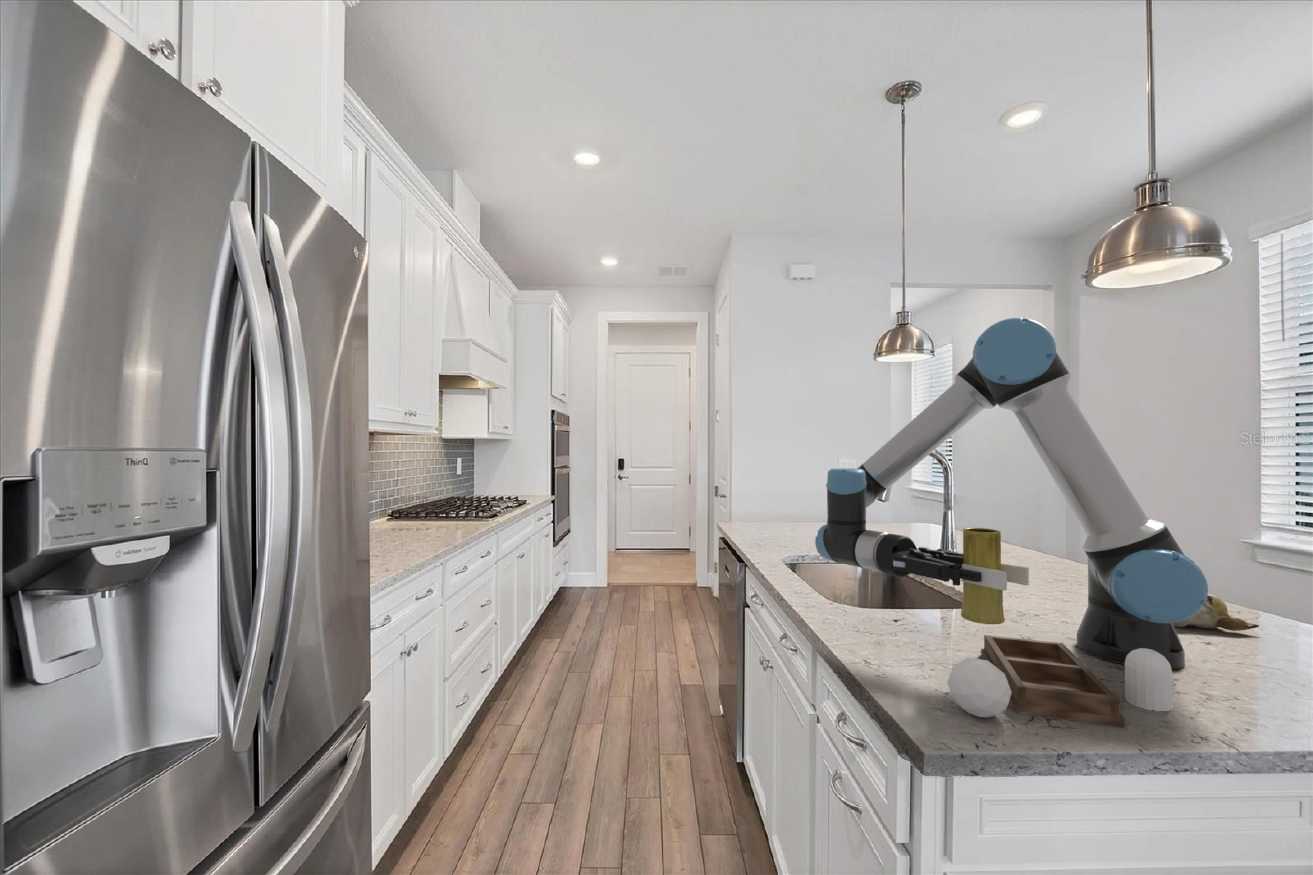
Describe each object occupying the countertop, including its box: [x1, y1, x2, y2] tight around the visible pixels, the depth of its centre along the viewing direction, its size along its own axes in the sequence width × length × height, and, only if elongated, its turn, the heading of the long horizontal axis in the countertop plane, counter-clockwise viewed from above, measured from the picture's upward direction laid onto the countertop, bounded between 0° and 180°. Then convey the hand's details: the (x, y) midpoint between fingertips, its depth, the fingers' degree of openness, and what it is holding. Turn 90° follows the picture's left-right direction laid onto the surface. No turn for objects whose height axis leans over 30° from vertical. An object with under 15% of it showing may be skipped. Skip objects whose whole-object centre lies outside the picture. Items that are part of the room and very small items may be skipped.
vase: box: [960, 527, 1006, 625], centre depth 90 cm, size 6×6×14 cm
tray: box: [980, 634, 1126, 728], centre depth 89 cm, size 13×23×4 cm, turn 160°
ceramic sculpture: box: [1173, 593, 1260, 632], centre depth 118 cm, size 11×9×15 cm
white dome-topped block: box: [1124, 648, 1174, 712], centre depth 83 cm, size 5×5×8 cm
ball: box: [946, 657, 1012, 719], centre depth 80 cm, size 8×8×8 cm
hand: (1016, 578), depth 86 cm, fingers closed on vase, 5 cm apart
